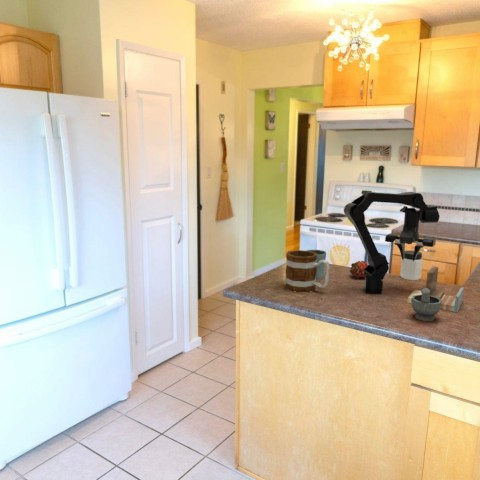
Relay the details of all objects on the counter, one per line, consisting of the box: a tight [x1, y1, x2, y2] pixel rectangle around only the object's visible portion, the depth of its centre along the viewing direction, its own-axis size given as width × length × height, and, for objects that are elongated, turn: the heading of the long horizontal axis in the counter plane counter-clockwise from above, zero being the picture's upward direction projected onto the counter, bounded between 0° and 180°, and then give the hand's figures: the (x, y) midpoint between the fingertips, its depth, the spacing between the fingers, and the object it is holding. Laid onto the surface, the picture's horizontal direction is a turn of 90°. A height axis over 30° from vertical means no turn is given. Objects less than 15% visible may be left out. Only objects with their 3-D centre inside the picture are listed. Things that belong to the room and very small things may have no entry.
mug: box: [284, 249, 330, 293], centre depth 181 cm, size 20×14×15 cm
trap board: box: [407, 289, 456, 312], centre depth 167 cm, size 16×12×2 cm
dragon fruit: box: [349, 260, 369, 279], centre depth 200 cm, size 8×8×12 cm
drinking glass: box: [305, 249, 327, 280], centre depth 199 cm, size 10×10×12 cm
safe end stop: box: [453, 286, 465, 313], centre depth 161 cm, size 1×13×6 cm, turn 146°
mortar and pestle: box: [410, 287, 442, 322], centre depth 150 cm, size 11×9×12 cm
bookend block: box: [425, 266, 445, 299], centre depth 165 cm, size 5×10×11 cm, turn 146°
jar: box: [399, 250, 423, 281], centre depth 199 cm, size 9×8×12 cm
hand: (408, 260), depth 179 cm, fingers open, 4 cm apart
